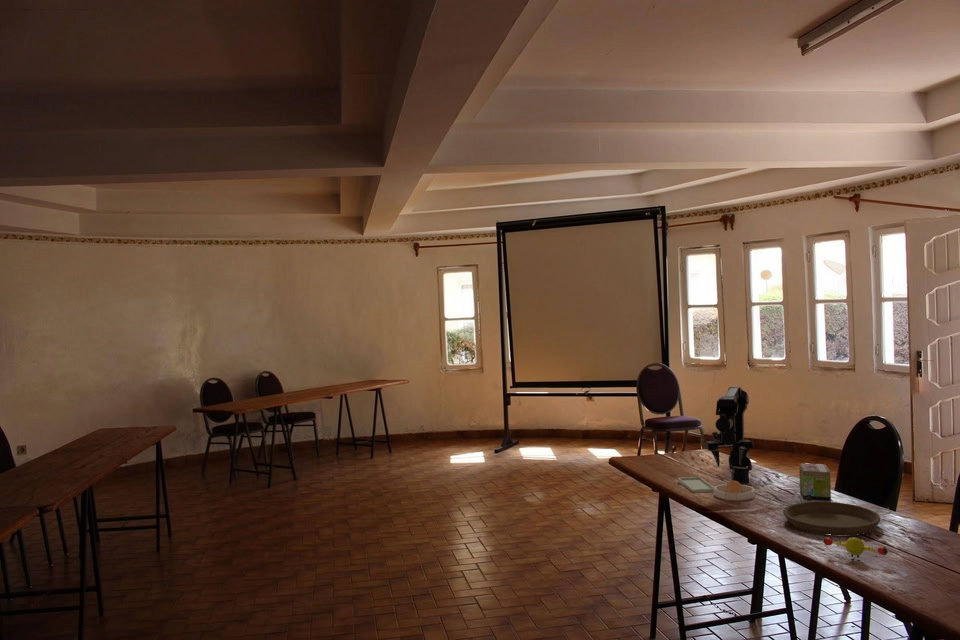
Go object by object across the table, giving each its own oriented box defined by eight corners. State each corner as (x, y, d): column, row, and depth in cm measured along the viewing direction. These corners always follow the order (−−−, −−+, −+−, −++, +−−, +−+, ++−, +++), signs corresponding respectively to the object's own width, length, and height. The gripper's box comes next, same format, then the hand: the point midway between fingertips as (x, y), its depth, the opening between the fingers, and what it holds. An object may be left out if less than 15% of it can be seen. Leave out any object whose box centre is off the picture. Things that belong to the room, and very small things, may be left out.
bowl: (746, 491, 307) (745, 483, 307) (760, 501, 291) (760, 492, 291) (709, 493, 307) (709, 484, 307) (722, 502, 291) (721, 494, 291)
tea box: (832, 510, 275) (830, 471, 274) (803, 509, 278) (801, 470, 278) (827, 500, 289) (825, 463, 289) (799, 499, 292) (798, 462, 292)
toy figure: (890, 562, 218) (889, 540, 218) (886, 568, 214) (885, 545, 214) (827, 551, 230) (826, 530, 230) (821, 556, 226) (820, 534, 226)
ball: (738, 492, 302) (738, 478, 302) (744, 496, 296) (743, 481, 296) (724, 493, 302) (724, 479, 302) (729, 497, 296) (729, 482, 296)
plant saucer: (826, 544, 238) (825, 530, 238) (765, 519, 268) (764, 506, 268) (902, 532, 246) (901, 519, 246) (835, 509, 276) (834, 497, 276)
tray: (700, 481, 328) (699, 476, 328) (716, 493, 306) (716, 488, 306) (678, 482, 328) (677, 477, 328) (693, 494, 306) (692, 489, 306)
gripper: (742, 424, 308) (744, 460, 308) (699, 426, 308) (700, 462, 308) (753, 428, 297) (754, 466, 297) (708, 430, 297) (709, 468, 297)
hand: (729, 465), depth 300 cm, fingers open, 9 cm apart
